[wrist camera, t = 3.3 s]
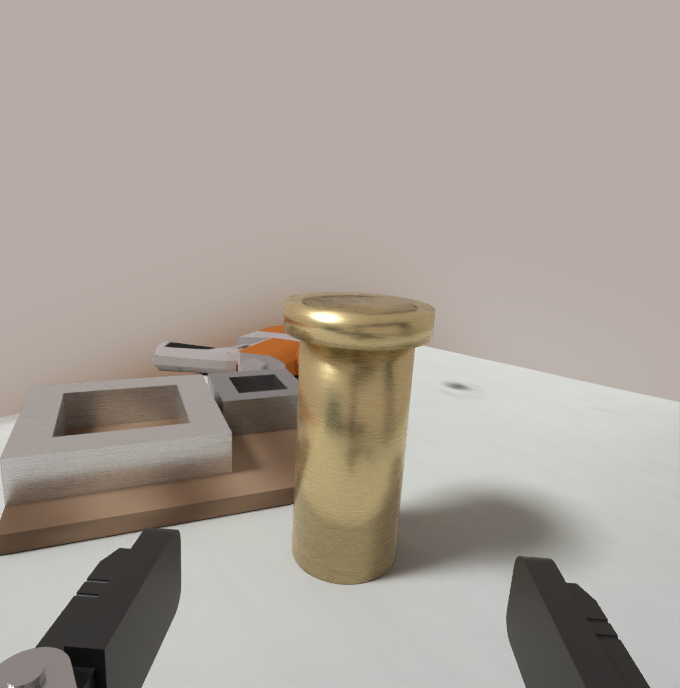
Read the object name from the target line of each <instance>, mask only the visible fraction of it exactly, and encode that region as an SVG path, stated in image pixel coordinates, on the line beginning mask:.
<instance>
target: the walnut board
mask: <svg viewBox="0 0 680 688" xmlns="http://www.w3.org/2000/svg"><path fill="white" fill-rule="evenodd" d="M175 424H179V421H178V418H173V419H163V420H153V421H143V422H133V423H123V424H113V425H103V426H93V427H83V428H73V429H66V434H65V436H69V435H79V434H89V433H98V432H108V431H117V430H127V429H137V428H146V427H156V426H166V425H175ZM295 457H296V429H289V430H280V431H272V432H263V433H255V434H246V435H238V436H232V473H231V474H224V475H217V476H210V477H204V478H197V479H190V480H183V481H176V482H169V483H162V484H155V485H149V486H142V487H135V488H128V489H121V490H114V491H107V492H100V493H94V494H87V495H80V496H73V497H66V498H59V499H52V500H45V501H39V502H32V503H25V504H18V505H11V506H5V508H4V511H3V514H2V517H1V520H0V555H3V554H9V553H15V552H20V551H26V550H32V549H37V548H43V547H49V546H54V545H60V544H66V543H71V542H77V541H83V540H88V539H94V538H100V537H105V536H111V535H117V534H122V533H128V532H134V531H139V530H144V529H146V528H156V527H162V526H168V525H173V524H179V523H185V522H190V521H196V520H202V519H207V518H213V517H219V516H224V515H230V514H236V513H241V512H247V511H253V510H258V509H264V508H270V507H275V506H281V505H287V504H292V503H294V484H295Z"/></svg>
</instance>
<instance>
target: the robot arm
mask: <svg viewBox="0 0 680 688" xmlns="http://www.w3.org/2000/svg"><path fill="white" fill-rule="evenodd" d="M180 593H181V539H180V532H179V530H173V529H160V528H146V529H144V531H143V532H142V533H141V535H140V536H139V538H138V539H137V541H136V542H135V544H134V545H133V546H132V548H131V549H125V548H119V549H118V550H116V551H115V552H113V553H112V554H110V555H109V556H108V557H106V558H105V559H103V560H102V561H100V562H99V564H98V565H97V566H96V568H95V569H94V570H93V572H92V573H91V574H90V576H89V577H88V578H87V582H84V584H83V585H82V586H81V588H80V589H79V590H78V592H77V595H76V596H74V597H73V598H72V600H71V601H70V602H69V604H68V605H67V606H66V608H65V609H64V610H63V611H62V613H61V614H60V615H59V617H58V618H57V619H56V621H55V622H54V623H53V625H52V626H51V627H50V629H49V630H48V631H47V633H46V634H45V635H44V637H43V638H42V639H41V641H40V642H39V643H38V645H37V646H36V647H35V648H33V649H29V650H26V651H23V652H20V653H18V654H16V655H14V656H12V657H10V658H8V659H6V660H5V661H3V662H2V663H0V688H141V687H142V685H143V683H144V681H145V679H146V676H147V674H148V672H149V670H150V668H151V666H152V663H153V661H154V659H155V657H156V655H157V653H158V650H159V648H160V646H161V644H162V642H163V640H164V637H165V635H166V633H167V631H168V629H169V627H170V625H171V622H172V620H173V618H174V616H175V613H176V611H177V607H178V604H179V599H180ZM506 622H507V633H508V638H509V641H510V644H511V647H512V650H513V653H514V656H515V658H516V661H517V664H518V667H519V670H520V672H521V675H522V678H523V681H524V683H525V686H526V688H650V687H649V685H648V683H647V682H646V680H645V679H644V677H643V675H642V674H641V672H640V671H639V669H638V667H637V666H636V664H635V663H634V661H633V659H632V658H631V656H630V655H629V653H628V651H627V650H626V648H625V647H624V645H623V643H622V642H621V640H618V635H617V634H616V632H615V631H614V629H613V627H612V626H611V624H610V623H608V619H607V618H606V616H605V614H604V613H603V611H602V610H601V608H600V606H599V605H598V603H597V602H596V600H595V599H593V598H592V597H591V596H590V595H589V594H588V593H587V592H585V591H584V590H583V589H582V588H581V587H580V586H579V585H578V584H575V583H566V582H565V580H564V578H563V576H562V575H561V573H560V571H559V569H558V568H557V566H556V564H555V563H554V561H553V560H552V559H549V558H535V557H522V556H518V557H517V558H516V561H515V564H514V570H513V576H512V582H511V588H510V595H509V601H508V607H507V615H506Z"/></svg>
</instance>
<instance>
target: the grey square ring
mask: <svg viewBox="0 0 680 688" xmlns="http://www.w3.org/2000/svg"><path fill="white" fill-rule="evenodd" d="M208 387H209V389H210V391H211V393H212V395H213V397H214V399H215V401H216V403H217V405H218V407H219V409H220V411H221V413H222V415H223V416H224V418H225V420H226V422H227V424H228V426H229V428H230V430H231V432H232V436H238V435H246V434H255V433H263V432H272V431H280V430H289V429H297V402H298V380H297V379H296V378H295V377H294V376H293V375H292V374H291V373H290V372H289V371H288V370H287V369H286V368H282V369H267V370H252V371H238V372H223V373H208Z"/></svg>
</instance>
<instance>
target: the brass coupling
mask: <svg viewBox="0 0 680 688" xmlns="http://www.w3.org/2000/svg"><path fill="white" fill-rule="evenodd" d="M284 304H285V305H284V331H285V332H286V333H287V334H288V335H289V336H291V337H293V338H296V339H298V340H300V348H299V375H298V402H297V429H296V457H295V484H294V511H293V538H292V552H293V556H294V559H295V560H296V562H297V564H298V565H299V566H300V567H301V568H302V569H303V570H304V571H306V572H307V573H309V574H310V575H312V576H314V577H316V578H318V579H321V580H324V581H327V582H332V583H337V584H359V583H364V582H368V581H371V580H374V579H376V578H378V577H380V576H382V575H383V574H385V573H386V572H387V571H388V570H389V569H390V568H391V566H392V565H393V563H394V560H395V555H396V544H397V533H398V522H399V512H400V501H401V490H402V480H403V469H404V458H405V448H406V437H407V426H408V415H409V405H410V394H411V383H412V373H413V362H414V351H415V347H419V346H423V345H425V344H427V343H429V342H431V340H432V337H433V327H434V317H435V309H434V307H432V306H430V305H429V304H426V303H423V302H419V301H416V300H411V299H407V298H401V297H395V296H388V295H379V294H368V293H351V292H321V293H306V294H299V295H294V296H291V297H288V298H286V299H285V303H284Z"/></svg>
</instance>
